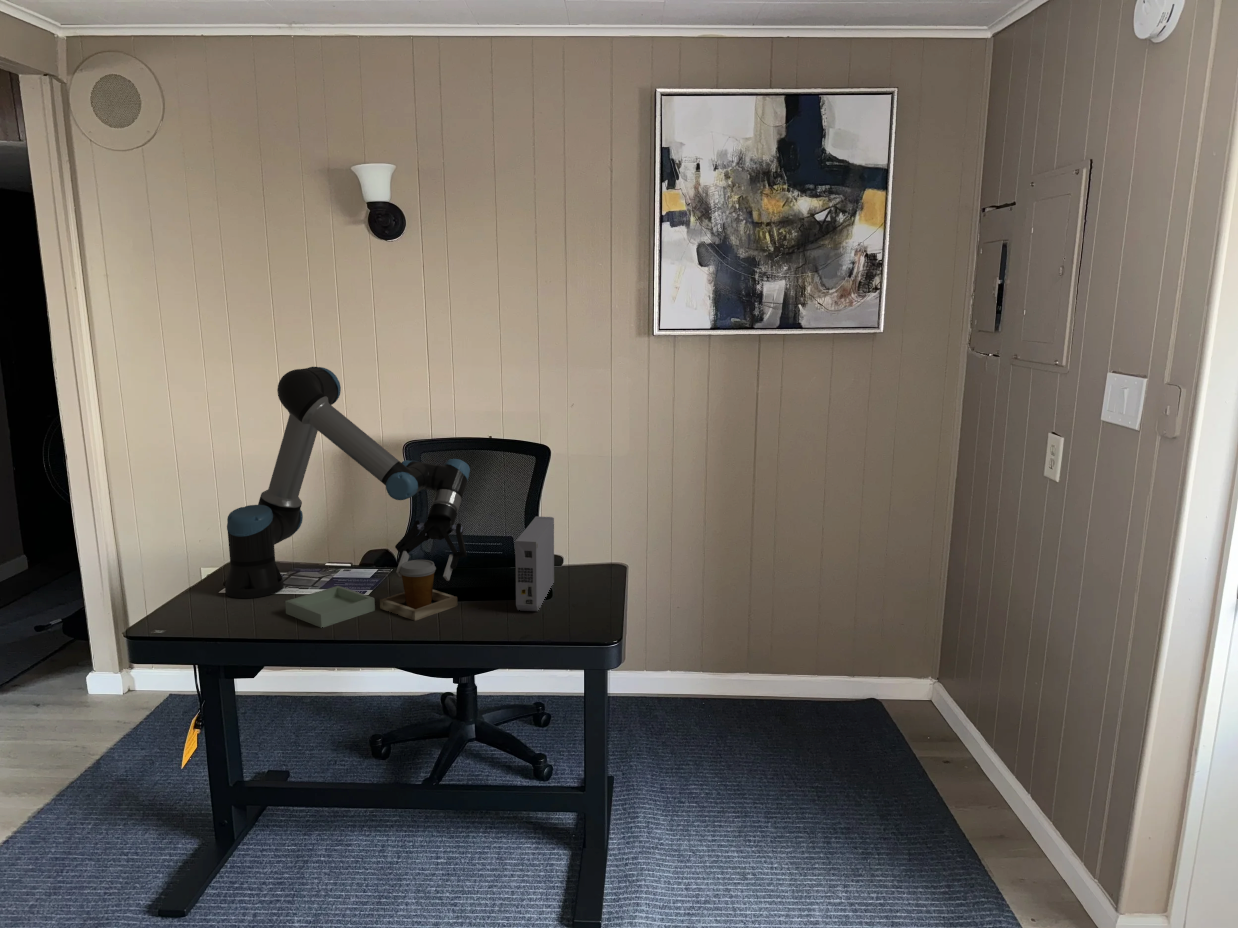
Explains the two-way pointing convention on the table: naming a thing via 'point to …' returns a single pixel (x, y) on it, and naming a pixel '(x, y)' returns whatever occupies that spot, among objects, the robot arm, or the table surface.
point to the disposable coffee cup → (418, 582)
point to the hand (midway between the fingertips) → (422, 576)
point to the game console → (534, 563)
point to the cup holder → (395, 607)
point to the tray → (330, 606)
